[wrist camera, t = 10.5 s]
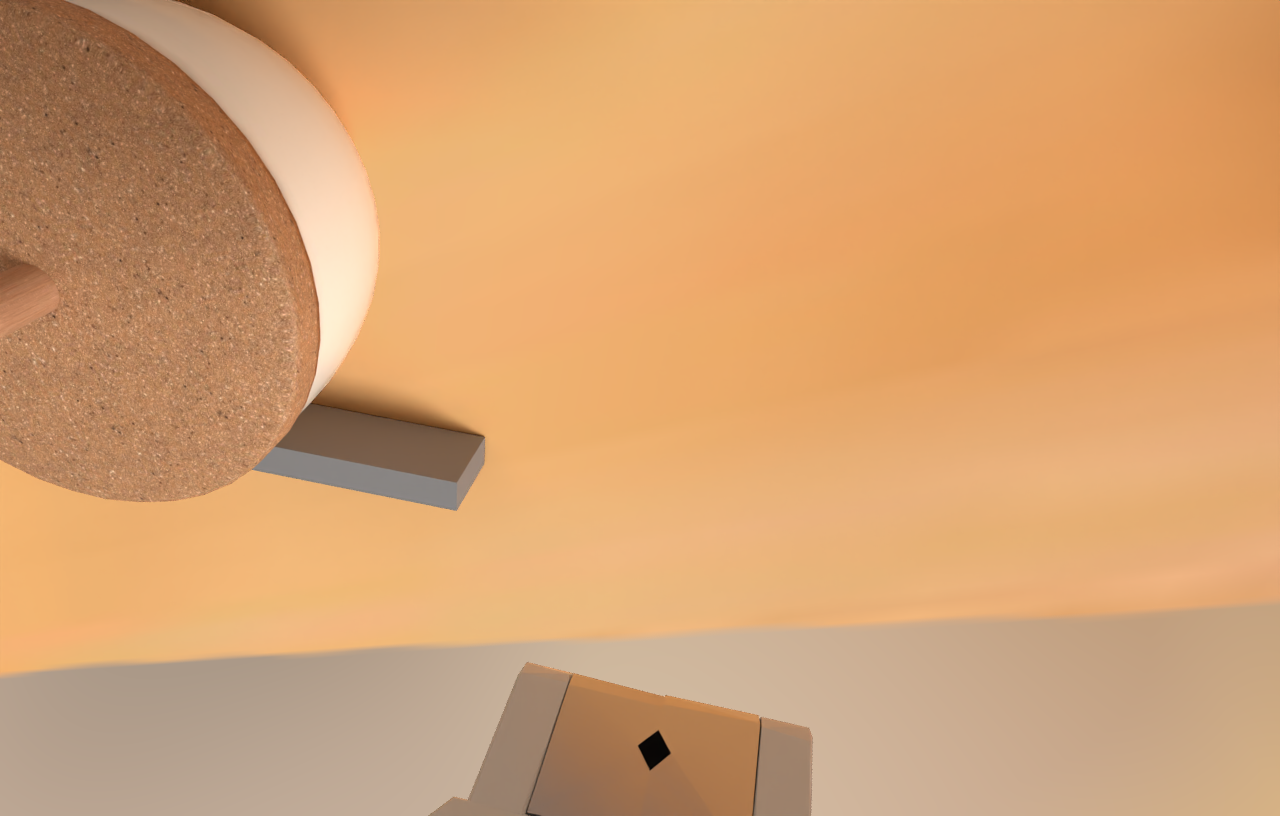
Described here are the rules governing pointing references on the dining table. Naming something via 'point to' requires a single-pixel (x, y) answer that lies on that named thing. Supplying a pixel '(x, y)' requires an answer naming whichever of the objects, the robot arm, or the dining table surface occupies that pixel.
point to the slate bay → (378, 456)
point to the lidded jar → (167, 246)
